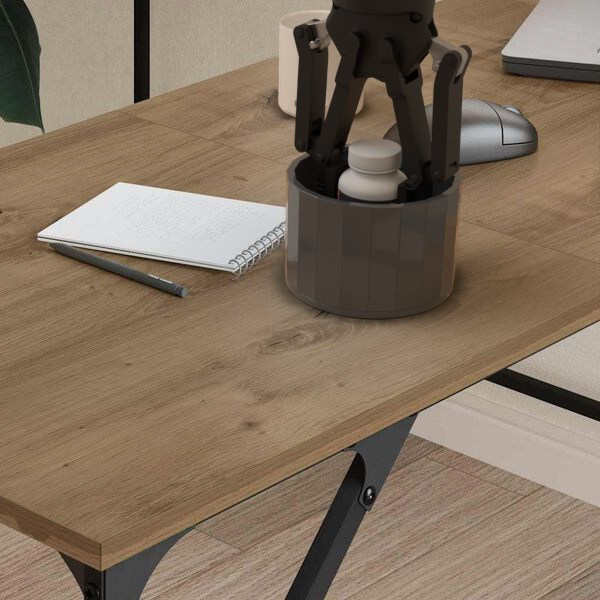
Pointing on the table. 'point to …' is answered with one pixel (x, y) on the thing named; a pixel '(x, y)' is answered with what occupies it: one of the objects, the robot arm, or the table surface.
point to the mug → (291, 59)
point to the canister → (369, 248)
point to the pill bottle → (372, 172)
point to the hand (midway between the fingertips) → (370, 249)
